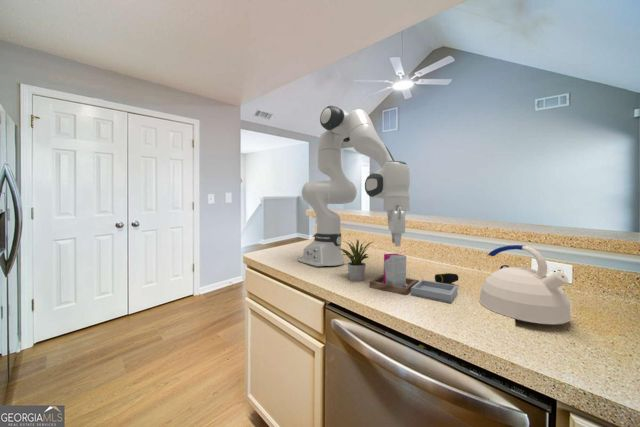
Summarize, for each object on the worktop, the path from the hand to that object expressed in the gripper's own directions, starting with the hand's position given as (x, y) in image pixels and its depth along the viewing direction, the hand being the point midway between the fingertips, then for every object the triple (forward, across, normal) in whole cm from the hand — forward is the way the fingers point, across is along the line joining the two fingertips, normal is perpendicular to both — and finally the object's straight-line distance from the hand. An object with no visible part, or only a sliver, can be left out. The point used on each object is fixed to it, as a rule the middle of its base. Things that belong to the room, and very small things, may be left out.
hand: (395, 244), depth 91 cm
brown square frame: (+15, +1, 0) cm, 15 cm away
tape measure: (+15, +6, -22) cm, 27 cm away
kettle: (+16, -13, -33) cm, 39 cm away
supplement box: (+15, +1, 0) cm, 15 cm away
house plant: (+15, +8, +13) cm, 22 cm away
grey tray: (+15, -5, -12) cm, 20 cm away
